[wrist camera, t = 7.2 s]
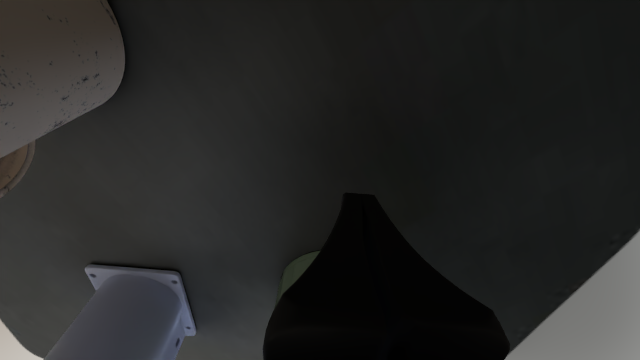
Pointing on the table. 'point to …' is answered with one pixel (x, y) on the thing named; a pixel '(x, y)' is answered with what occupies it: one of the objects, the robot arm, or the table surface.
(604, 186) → the table surface
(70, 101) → the teacup with lid
